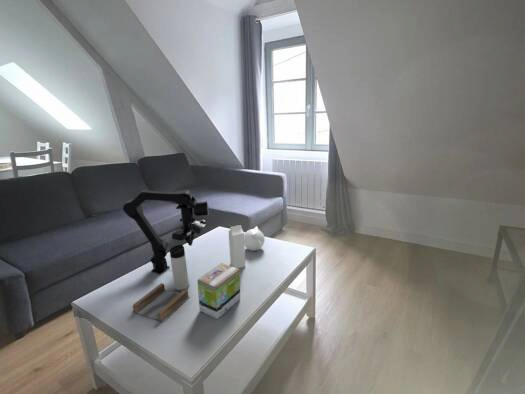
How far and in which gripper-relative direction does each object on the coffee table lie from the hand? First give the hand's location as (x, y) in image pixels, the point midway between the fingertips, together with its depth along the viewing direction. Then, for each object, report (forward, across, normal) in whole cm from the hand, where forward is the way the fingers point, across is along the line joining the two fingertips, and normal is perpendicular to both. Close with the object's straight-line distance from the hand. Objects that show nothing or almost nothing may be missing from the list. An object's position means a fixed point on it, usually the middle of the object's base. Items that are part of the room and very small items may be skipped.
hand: (190, 245), depth 142 cm
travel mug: (+13, -16, -6) cm, 21 cm away
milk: (+13, +10, -21) cm, 26 cm away
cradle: (+12, -29, -6) cm, 32 cm away
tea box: (+13, -20, -29) cm, 37 cm away
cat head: (+13, +29, -21) cm, 38 cm away
